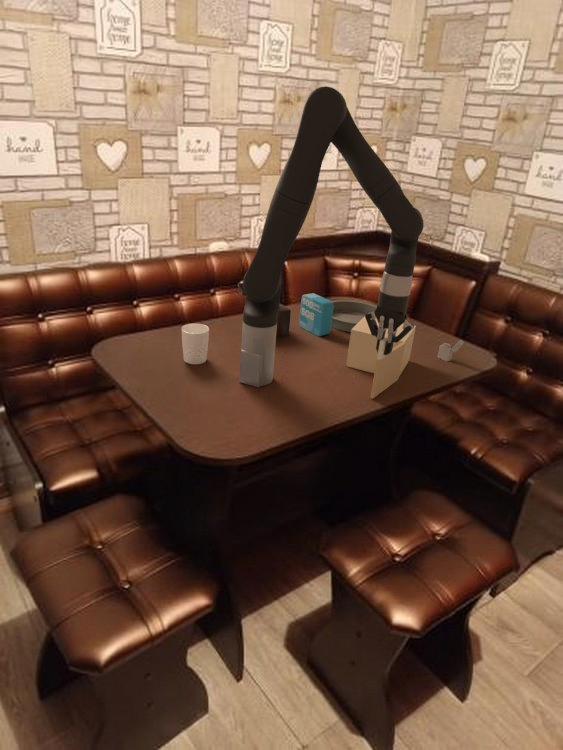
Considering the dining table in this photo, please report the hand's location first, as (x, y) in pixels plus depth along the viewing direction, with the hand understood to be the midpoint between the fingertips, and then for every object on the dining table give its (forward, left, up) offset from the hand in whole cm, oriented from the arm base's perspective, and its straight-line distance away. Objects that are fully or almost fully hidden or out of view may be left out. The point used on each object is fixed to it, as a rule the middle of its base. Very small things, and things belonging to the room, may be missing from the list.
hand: (383, 352), depth 142 cm
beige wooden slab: (+5, -1, -13) cm, 14 cm away
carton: (+21, +5, -13) cm, 25 cm away
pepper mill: (+22, +46, -13) cm, 53 cm away
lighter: (+37, -14, -13) cm, 42 cm away
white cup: (-8, +53, -13) cm, 55 cm away
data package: (+35, +32, -13) cm, 49 cm away
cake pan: (+52, +23, -14) cm, 58 cm away
